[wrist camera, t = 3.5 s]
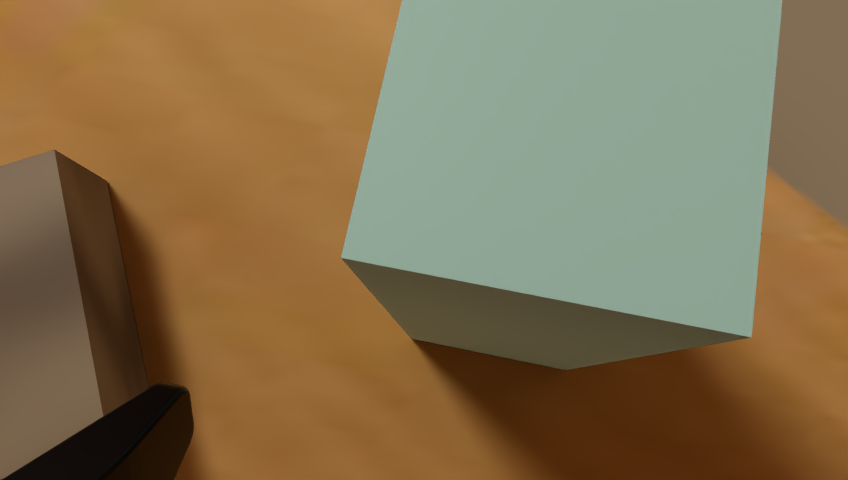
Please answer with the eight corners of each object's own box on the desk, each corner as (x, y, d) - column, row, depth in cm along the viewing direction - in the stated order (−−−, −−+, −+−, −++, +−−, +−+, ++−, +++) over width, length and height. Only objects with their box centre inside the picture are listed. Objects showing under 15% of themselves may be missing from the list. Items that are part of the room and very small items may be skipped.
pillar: (565, 369, 20) (750, 337, 8) (411, 338, 21) (340, 257, 8) (588, 220, 21) (785, -30, 9) (441, 193, 22) (421, -82, 9)
